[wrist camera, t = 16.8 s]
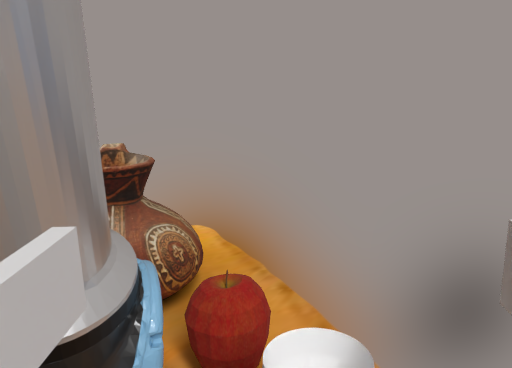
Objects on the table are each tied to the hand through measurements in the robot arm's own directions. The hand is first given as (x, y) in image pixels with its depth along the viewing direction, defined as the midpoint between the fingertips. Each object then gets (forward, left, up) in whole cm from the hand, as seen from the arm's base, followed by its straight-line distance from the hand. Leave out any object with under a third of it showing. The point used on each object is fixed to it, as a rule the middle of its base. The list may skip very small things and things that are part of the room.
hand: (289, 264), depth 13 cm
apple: (-25, +25, -30) cm, 47 cm away
